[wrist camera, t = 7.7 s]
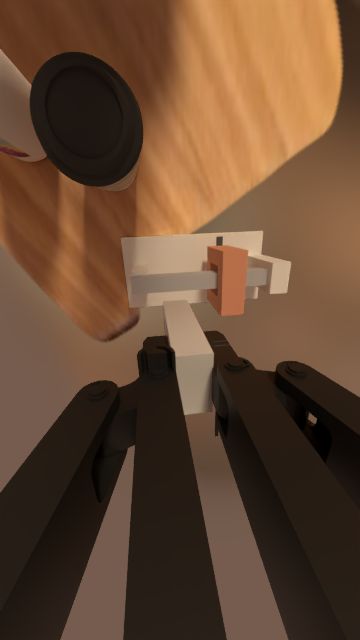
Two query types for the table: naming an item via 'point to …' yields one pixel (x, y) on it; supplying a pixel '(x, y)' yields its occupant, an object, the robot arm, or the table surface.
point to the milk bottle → (16, 115)
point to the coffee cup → (87, 121)
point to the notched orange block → (228, 279)
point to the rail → (193, 267)
